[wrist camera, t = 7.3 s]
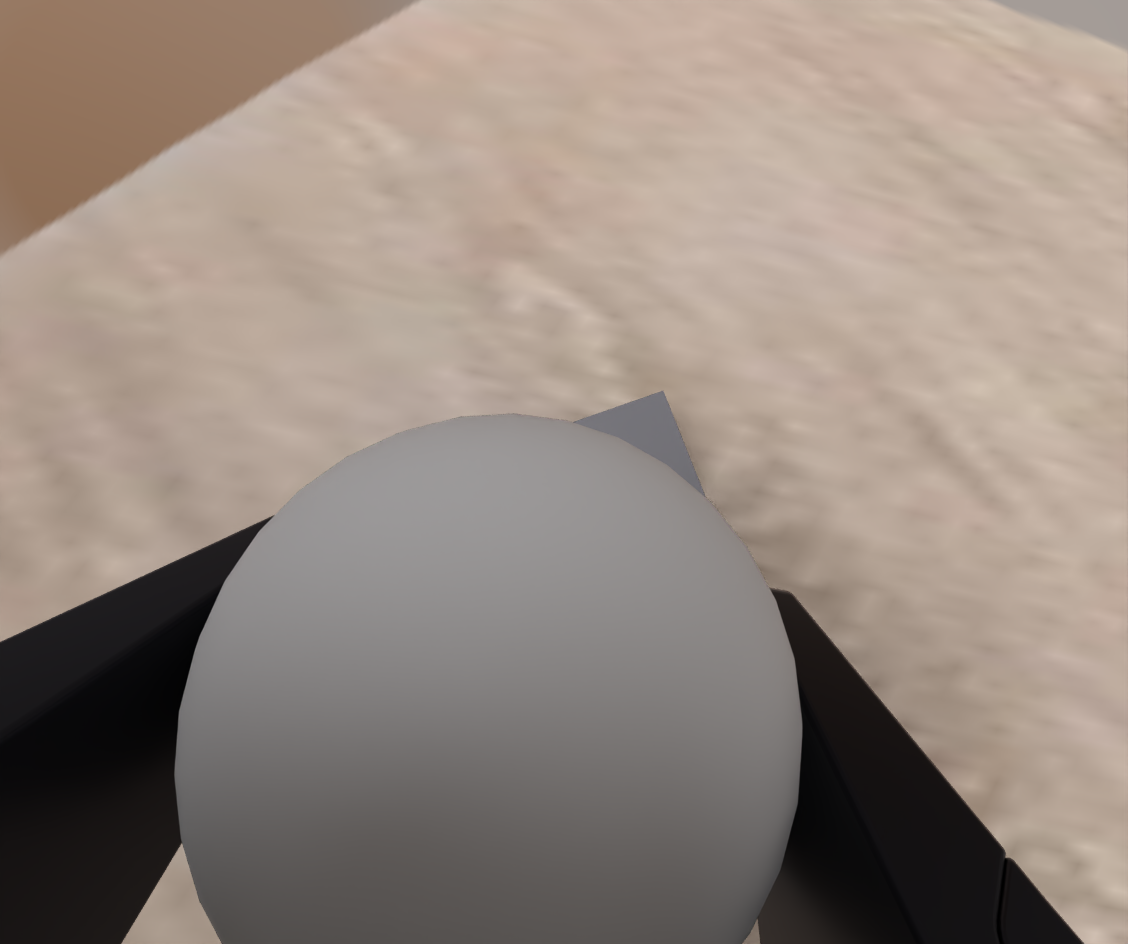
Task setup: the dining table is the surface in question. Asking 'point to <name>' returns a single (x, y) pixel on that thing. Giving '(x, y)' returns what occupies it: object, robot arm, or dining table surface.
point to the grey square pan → (648, 432)
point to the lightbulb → (490, 704)
